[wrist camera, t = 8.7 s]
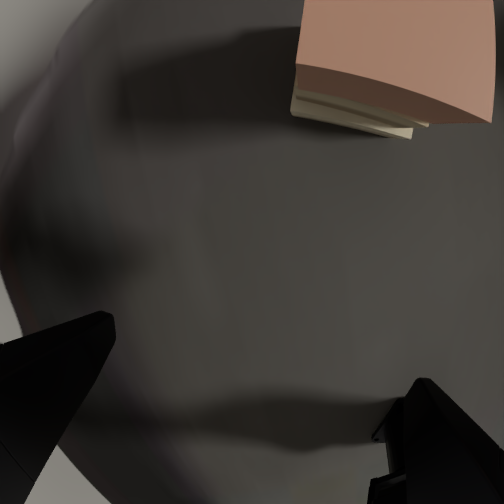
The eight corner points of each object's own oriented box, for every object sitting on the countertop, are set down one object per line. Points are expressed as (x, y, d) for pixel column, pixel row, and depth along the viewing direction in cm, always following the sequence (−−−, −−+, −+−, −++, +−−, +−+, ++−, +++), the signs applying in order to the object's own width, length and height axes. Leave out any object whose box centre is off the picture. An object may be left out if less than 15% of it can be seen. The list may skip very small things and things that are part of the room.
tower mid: (397, 128, 13) (428, 127, 9) (296, 99, 13) (293, 85, 10) (413, 39, 11) (444, 14, 7) (315, 9, 11) (318, -27, 8)
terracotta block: (433, 123, 9) (491, 122, 5) (298, 89, 10) (295, 63, 6) (441, 9, 7) (488, -29, 3) (314, -26, 8) (316, -86, 4)
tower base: (389, 138, 17) (411, 139, 13) (292, 116, 17) (290, 110, 13) (401, 49, 14) (423, 31, 11) (306, 27, 15) (306, 2, 11)
